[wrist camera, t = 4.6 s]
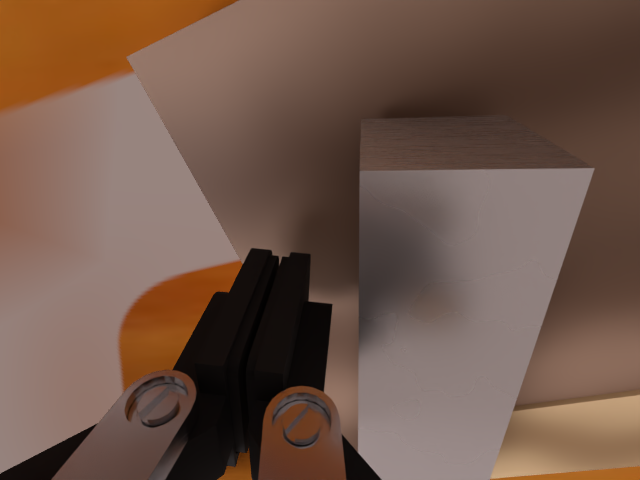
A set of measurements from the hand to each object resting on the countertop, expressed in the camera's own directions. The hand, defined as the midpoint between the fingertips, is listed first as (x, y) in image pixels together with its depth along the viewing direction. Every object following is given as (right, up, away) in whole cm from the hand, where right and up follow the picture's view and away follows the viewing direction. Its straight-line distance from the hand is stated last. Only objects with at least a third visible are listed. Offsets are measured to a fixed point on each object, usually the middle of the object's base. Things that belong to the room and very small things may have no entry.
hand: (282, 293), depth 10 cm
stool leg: (+4, -2, +2) cm, 5 cm away
